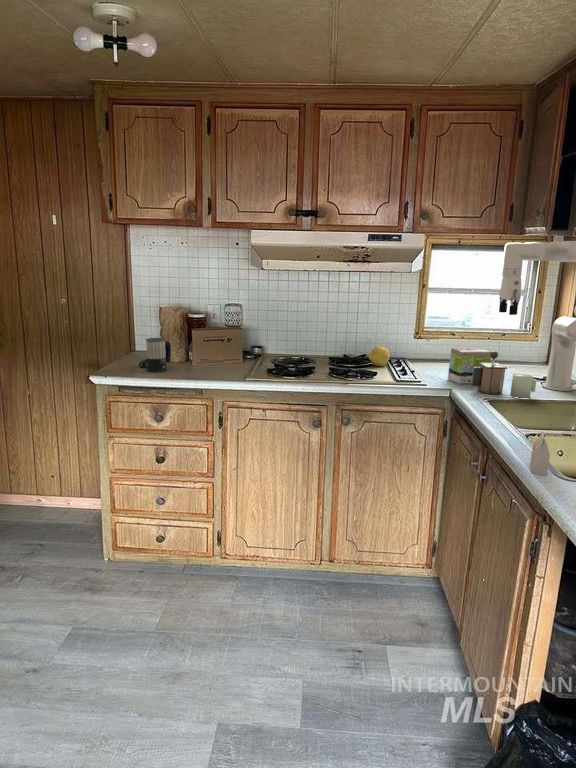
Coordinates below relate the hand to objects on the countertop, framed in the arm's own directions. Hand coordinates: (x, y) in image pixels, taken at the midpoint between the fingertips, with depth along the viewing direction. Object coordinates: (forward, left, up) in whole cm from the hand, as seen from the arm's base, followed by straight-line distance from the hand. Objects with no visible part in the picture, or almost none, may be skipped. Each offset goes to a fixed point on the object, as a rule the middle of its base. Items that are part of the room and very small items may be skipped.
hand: (507, 313), depth 227 cm
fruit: (+47, -38, -33) cm, 69 cm away
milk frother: (+158, -17, -33) cm, 163 cm away
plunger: (+8, +11, -31) cm, 34 cm away
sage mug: (-2, +18, -32) cm, 37 cm away
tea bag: (+27, +95, -33) cm, 104 cm away
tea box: (+11, -8, -33) cm, 35 cm away
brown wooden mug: (+10, +11, -32) cm, 35 cm away
